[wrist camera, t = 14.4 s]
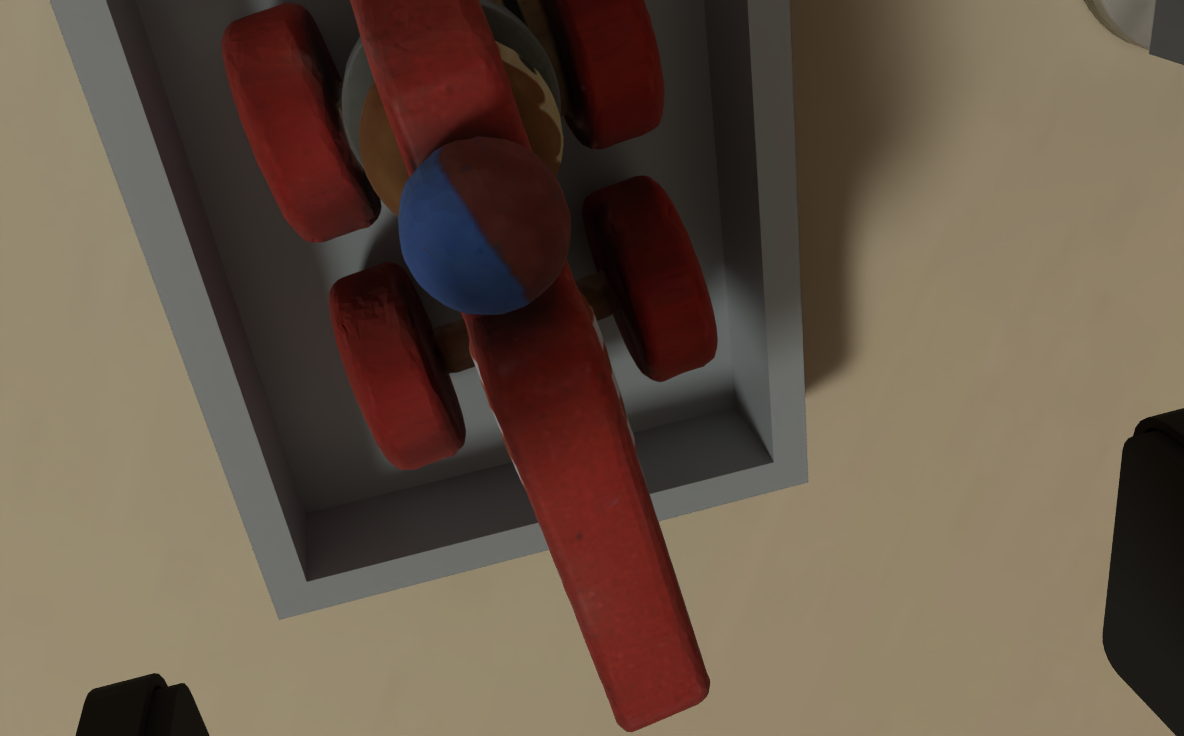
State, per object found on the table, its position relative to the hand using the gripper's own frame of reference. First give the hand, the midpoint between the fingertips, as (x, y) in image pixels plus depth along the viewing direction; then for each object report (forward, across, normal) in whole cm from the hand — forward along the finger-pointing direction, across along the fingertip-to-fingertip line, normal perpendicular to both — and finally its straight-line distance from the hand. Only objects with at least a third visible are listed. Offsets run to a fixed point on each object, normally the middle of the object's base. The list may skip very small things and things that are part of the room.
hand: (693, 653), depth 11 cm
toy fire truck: (+14, 0, -1) cm, 14 cm away
